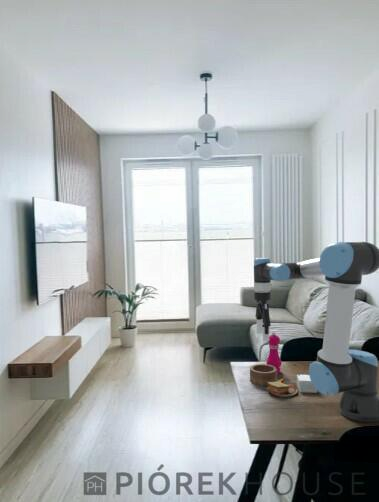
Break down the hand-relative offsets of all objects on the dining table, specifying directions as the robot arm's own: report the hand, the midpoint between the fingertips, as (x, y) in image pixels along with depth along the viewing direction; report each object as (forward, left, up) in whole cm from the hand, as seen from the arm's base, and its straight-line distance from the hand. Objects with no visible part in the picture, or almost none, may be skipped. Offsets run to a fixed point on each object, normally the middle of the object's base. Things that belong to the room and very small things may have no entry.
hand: (262, 337), depth 172 cm
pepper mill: (+12, -8, -21) cm, 25 cm away
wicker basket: (0, 0, -21) cm, 21 cm away
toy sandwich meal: (-13, -5, -21) cm, 25 cm away
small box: (-10, -17, -21) cm, 29 cm away
